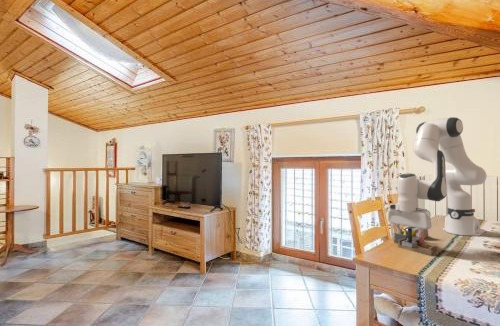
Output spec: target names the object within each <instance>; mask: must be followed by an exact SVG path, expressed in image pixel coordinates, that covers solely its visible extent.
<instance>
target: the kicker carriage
mask: <svg viewBox="0 0 500 326" xmlns="http://www.w3.org/2000/svg"><path fill="white" fill-rule="evenodd" d="M405 228H406V240H404V241H402V245H403V246H407V247H411V248H413V247H416V246H418V245H421V244H425V238H424V229H423V232H422V233H421V237H416V233H418V232H419V230H418V229H416V230H415V236H414V237H412V228H407V227H405ZM414 241H416V242H414Z"/></svg>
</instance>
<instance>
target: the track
mask: <svg viewBox="0 0 500 326" xmlns="http://www.w3.org/2000/svg"><path fill="white" fill-rule="evenodd" d="M404 240H406V239H405V238H403V239H399V240H398V243H397V247H398V248H400V249H405V250H408V251H411V252H414V253H415V252H416V253H420V254H422V255H426V256H430V257H432V256H436V255H438V246H437V245H432V246H431V245H430V246H429V247H428V248H426V247H421V246H418V245H417V246H416V247H413V248H411V247H407V246H403V245H402V241H404Z"/></svg>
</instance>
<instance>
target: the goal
mask: <svg viewBox="0 0 500 326" xmlns="http://www.w3.org/2000/svg"><path fill="white" fill-rule="evenodd" d="M404 228H405V230H402V233H397V232H394V233H393V243H394V244H398V240H399V239H403V238H405V239H406V228H412V229H413V228H416V227H408V226H406V227H404ZM404 232H405V235H403V234H404Z"/></svg>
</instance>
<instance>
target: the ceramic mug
mask: <svg viewBox="0 0 500 326" xmlns="http://www.w3.org/2000/svg"><path fill="white" fill-rule="evenodd" d="M407 227H411V226H407ZM416 229H418V228H413V229H412V230H414V231H415V230H416ZM427 237H429V229H424V239H426V238H427Z"/></svg>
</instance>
